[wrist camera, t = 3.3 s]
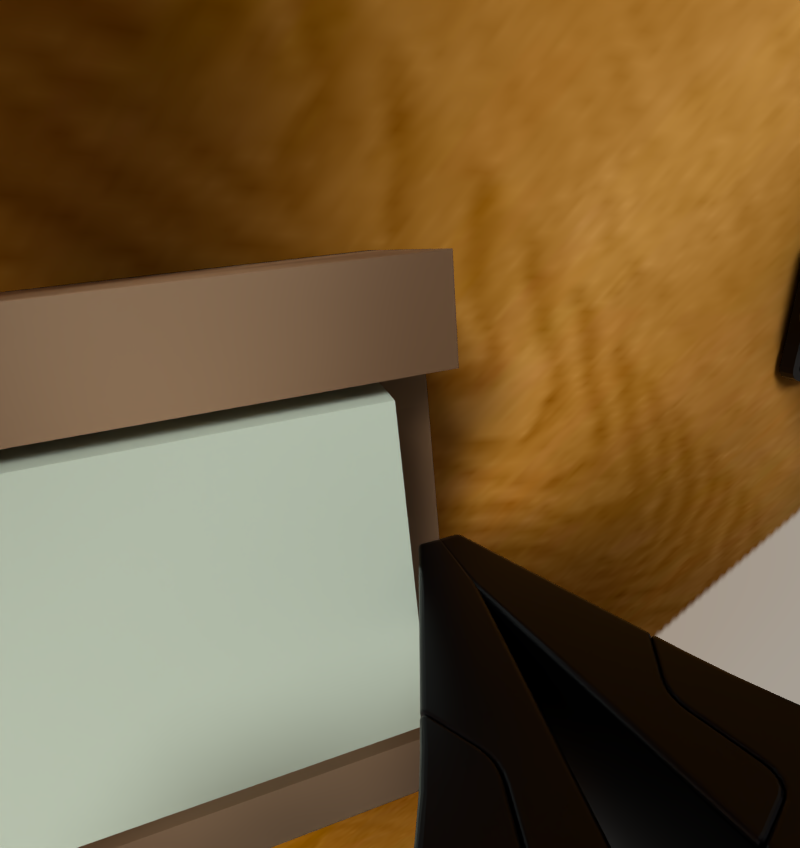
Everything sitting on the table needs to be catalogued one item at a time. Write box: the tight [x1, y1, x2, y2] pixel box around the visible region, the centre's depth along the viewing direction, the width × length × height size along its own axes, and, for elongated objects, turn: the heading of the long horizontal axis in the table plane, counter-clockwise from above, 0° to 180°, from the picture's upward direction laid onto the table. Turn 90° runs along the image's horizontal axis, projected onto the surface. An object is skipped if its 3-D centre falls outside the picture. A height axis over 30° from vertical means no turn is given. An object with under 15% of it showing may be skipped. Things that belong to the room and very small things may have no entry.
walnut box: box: [0, 249, 459, 848], centre depth 8 cm, size 14×10×5 cm
